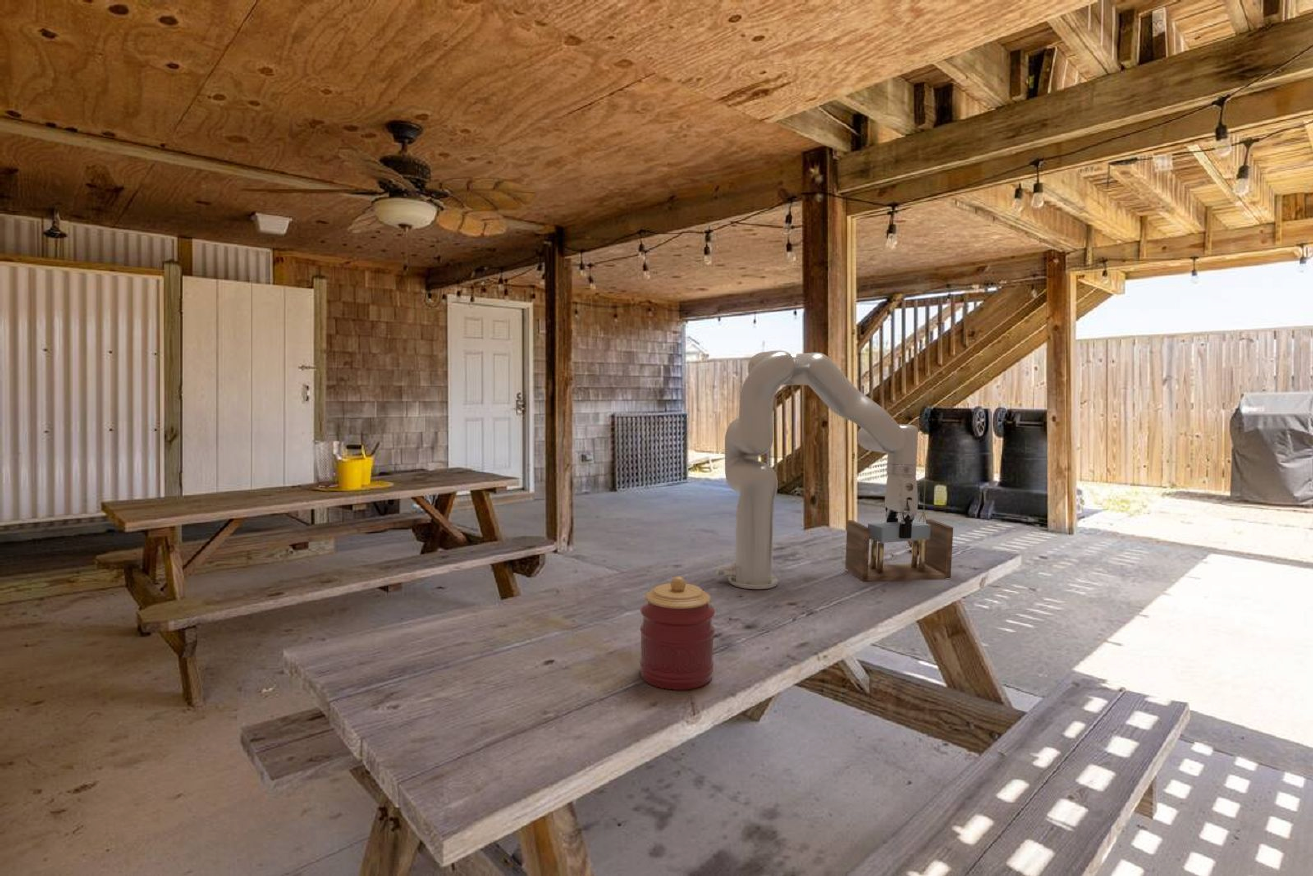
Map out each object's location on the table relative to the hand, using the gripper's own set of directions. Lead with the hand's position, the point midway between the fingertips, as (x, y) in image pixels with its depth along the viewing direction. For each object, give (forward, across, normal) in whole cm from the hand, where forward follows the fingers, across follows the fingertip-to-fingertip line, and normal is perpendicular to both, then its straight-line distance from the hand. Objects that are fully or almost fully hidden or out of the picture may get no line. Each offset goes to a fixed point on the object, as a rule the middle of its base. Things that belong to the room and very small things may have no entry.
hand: (898, 534), depth 188 cm
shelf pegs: (+10, 0, 0) cm, 10 cm away
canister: (+12, -59, +71) cm, 93 cm away
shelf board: (+1, 0, 0) cm, 1 cm away
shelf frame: (+11, 0, 0) cm, 11 cm away
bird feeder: (+11, +23, -20) cm, 33 cm away
